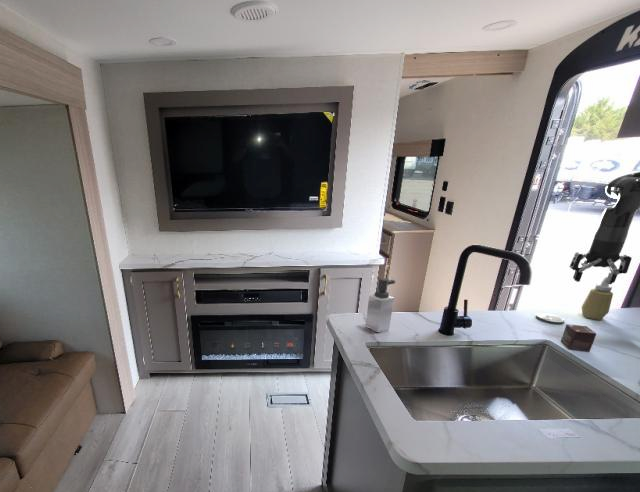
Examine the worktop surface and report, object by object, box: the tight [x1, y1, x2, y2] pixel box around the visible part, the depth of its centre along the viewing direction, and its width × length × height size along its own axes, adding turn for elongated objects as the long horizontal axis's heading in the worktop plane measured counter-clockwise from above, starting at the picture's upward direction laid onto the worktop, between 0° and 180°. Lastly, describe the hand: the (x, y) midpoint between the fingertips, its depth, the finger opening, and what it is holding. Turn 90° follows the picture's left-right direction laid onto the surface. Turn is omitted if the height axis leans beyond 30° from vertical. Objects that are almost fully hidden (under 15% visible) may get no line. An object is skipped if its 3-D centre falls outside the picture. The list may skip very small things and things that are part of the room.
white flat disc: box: [535, 312, 566, 325], centre depth 138 cm, size 9×9×1 cm
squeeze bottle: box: [581, 276, 614, 321], centre depth 136 cm, size 8×8×18 cm
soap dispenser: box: [365, 277, 396, 333], centre depth 133 cm, size 6×9×22 cm
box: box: [560, 323, 597, 352], centre depth 118 cm, size 6×6×7 cm
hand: (592, 282), depth 117 cm, fingers open, 8 cm apart
